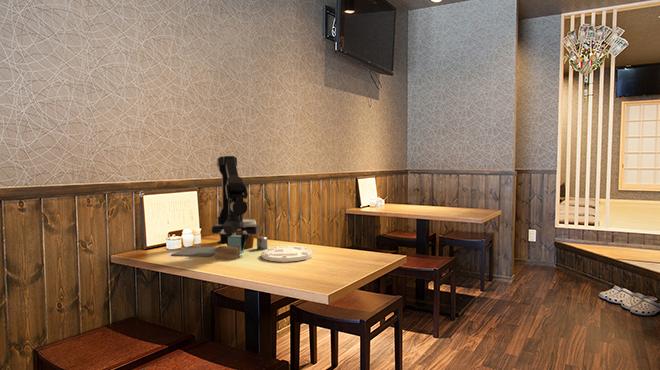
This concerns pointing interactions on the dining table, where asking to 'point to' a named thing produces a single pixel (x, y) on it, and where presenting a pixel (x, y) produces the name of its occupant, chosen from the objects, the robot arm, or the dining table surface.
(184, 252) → the slate mat
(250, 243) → the disposable coffee cup
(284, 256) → the white round plaque
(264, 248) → the metal canister
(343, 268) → the dining table surface
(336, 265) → the dining table surface
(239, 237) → the teal block
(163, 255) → the dining table surface
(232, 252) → the walnut block
